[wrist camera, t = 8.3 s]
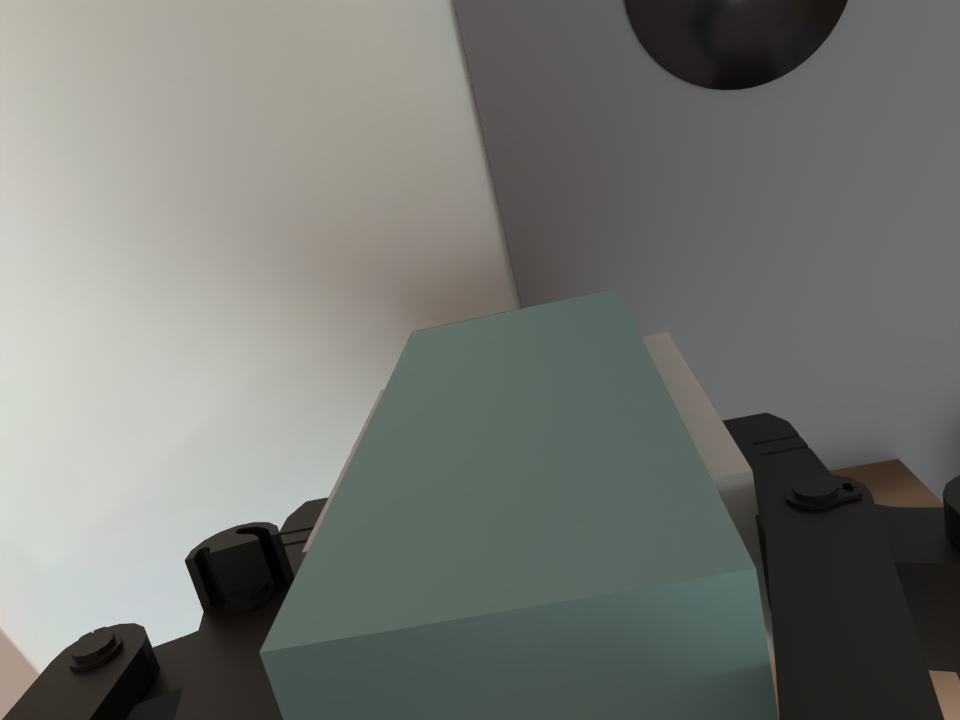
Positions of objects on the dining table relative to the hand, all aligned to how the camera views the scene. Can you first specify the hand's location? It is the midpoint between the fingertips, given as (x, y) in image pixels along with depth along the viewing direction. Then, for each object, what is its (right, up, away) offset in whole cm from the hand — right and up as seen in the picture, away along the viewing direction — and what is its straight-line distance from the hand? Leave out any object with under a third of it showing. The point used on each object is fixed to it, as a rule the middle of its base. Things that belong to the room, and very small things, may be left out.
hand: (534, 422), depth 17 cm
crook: (+5, -6, +3) cm, 9 cm away
